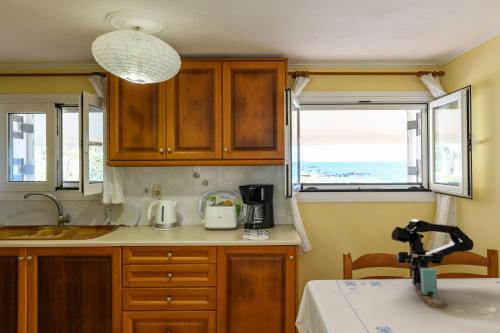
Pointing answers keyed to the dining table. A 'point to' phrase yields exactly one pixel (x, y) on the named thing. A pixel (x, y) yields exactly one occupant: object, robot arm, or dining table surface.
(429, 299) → the cord board
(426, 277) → the teal rectangular block
